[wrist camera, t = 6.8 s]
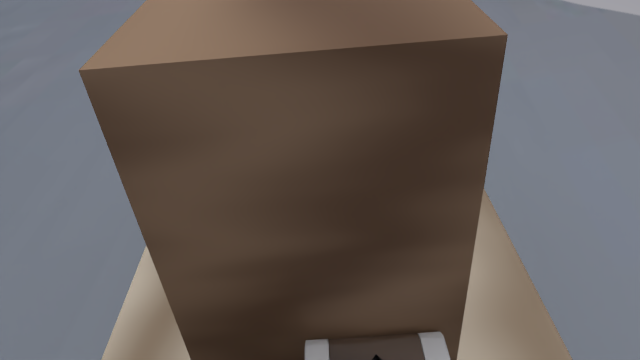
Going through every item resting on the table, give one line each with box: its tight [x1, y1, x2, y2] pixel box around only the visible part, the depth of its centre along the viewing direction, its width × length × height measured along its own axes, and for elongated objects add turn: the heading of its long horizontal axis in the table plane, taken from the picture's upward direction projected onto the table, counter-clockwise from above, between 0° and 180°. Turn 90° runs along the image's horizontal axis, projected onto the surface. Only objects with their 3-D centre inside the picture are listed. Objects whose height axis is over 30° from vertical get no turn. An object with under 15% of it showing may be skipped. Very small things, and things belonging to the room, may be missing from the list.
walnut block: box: [79, 0, 508, 360], centre depth 16 cm, size 6×14×12 cm, turn 2°
